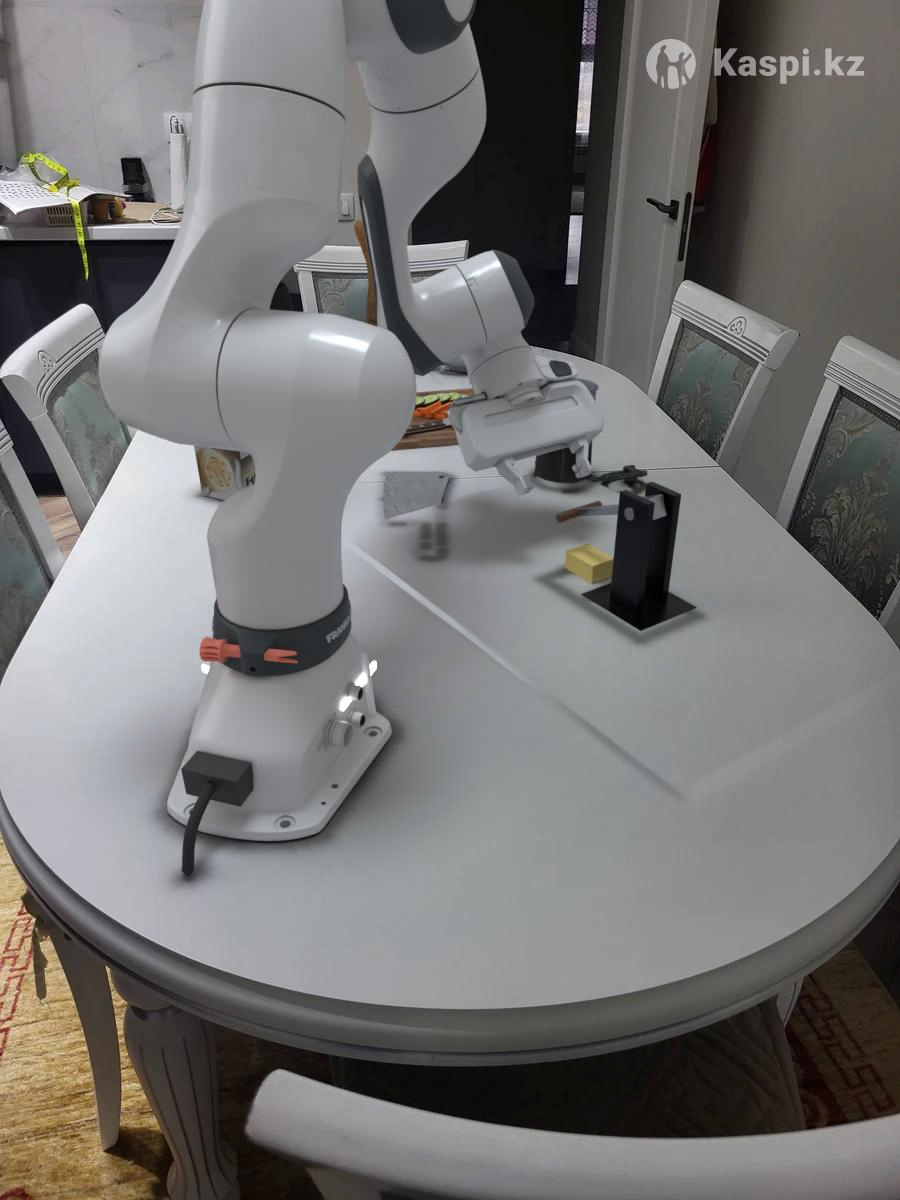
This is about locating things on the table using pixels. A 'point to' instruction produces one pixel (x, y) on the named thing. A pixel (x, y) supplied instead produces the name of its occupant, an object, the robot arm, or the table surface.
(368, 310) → the wooden handle
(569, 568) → the butter
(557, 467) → the milk frother
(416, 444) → the chopping board
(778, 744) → the table surface
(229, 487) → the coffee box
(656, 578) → the bracket
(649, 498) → the slicer arm
